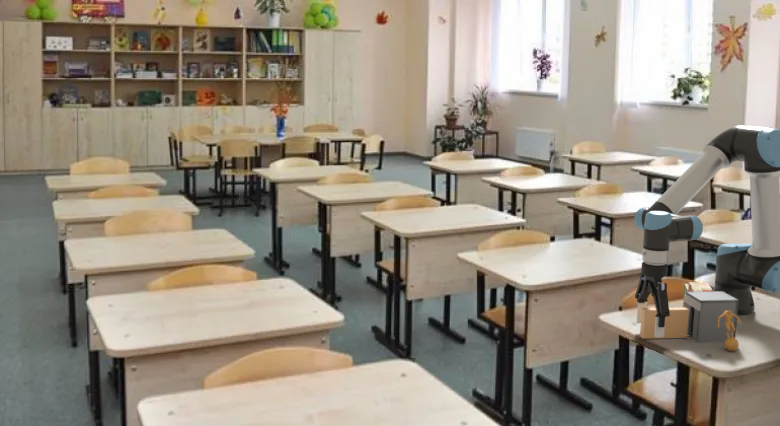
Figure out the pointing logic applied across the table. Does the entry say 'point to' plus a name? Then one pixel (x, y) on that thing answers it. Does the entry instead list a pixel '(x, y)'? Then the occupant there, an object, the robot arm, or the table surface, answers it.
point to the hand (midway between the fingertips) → (649, 329)
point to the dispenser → (709, 315)
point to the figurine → (729, 343)
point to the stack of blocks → (695, 288)
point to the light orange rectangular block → (673, 323)
